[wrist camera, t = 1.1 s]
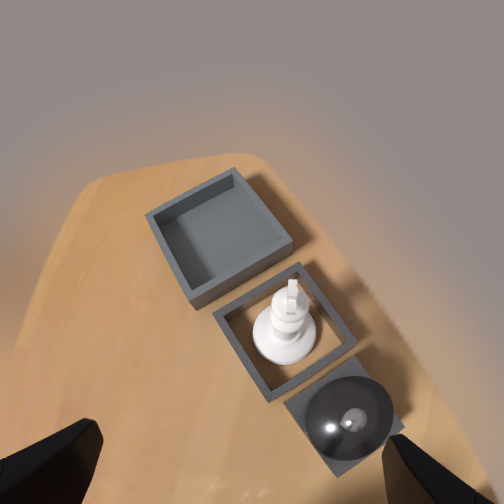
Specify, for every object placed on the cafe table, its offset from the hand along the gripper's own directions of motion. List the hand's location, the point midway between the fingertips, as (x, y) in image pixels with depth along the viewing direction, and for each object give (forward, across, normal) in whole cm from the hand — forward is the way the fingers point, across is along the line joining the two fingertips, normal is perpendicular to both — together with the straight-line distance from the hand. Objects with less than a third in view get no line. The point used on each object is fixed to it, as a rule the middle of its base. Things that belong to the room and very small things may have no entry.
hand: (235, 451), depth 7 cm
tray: (+20, +4, -2) cm, 21 cm away
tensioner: (+13, -4, +7) cm, 15 cm away
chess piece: (+16, -2, +4) cm, 16 cm away
